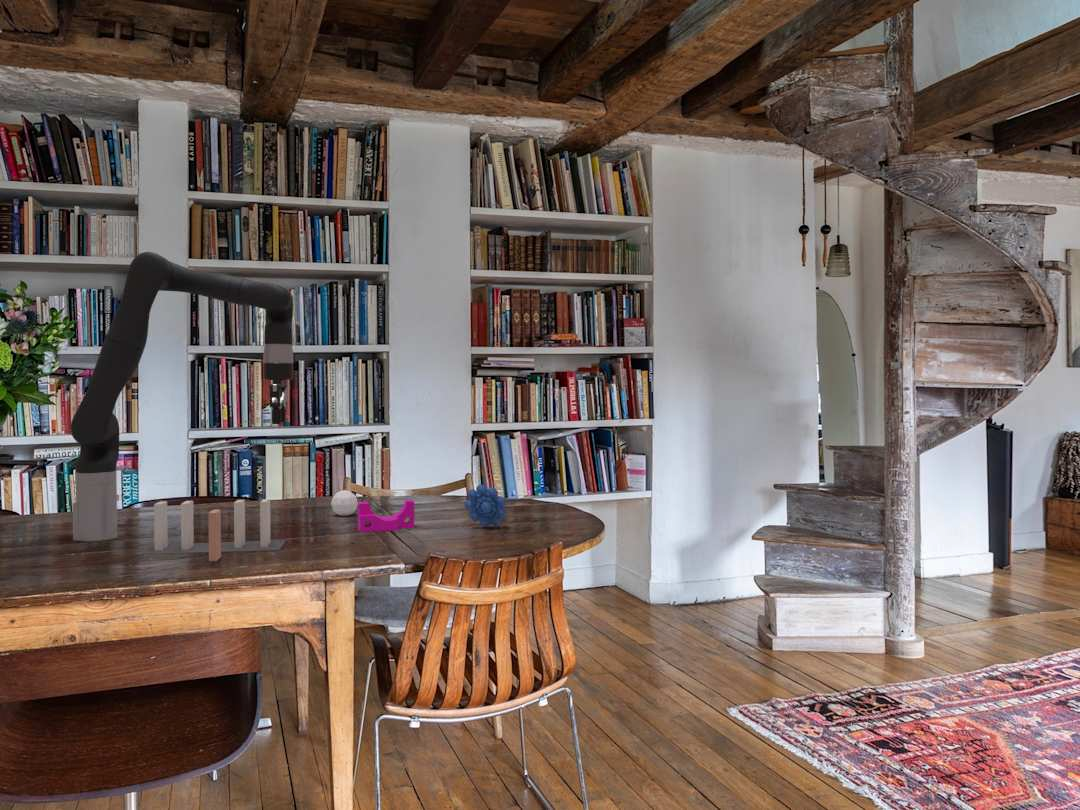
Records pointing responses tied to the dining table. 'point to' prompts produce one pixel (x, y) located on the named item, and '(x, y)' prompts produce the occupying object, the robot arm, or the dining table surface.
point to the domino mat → (204, 548)
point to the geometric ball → (344, 503)
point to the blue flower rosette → (485, 506)
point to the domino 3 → (214, 535)
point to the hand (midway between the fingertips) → (278, 423)
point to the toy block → (385, 518)
